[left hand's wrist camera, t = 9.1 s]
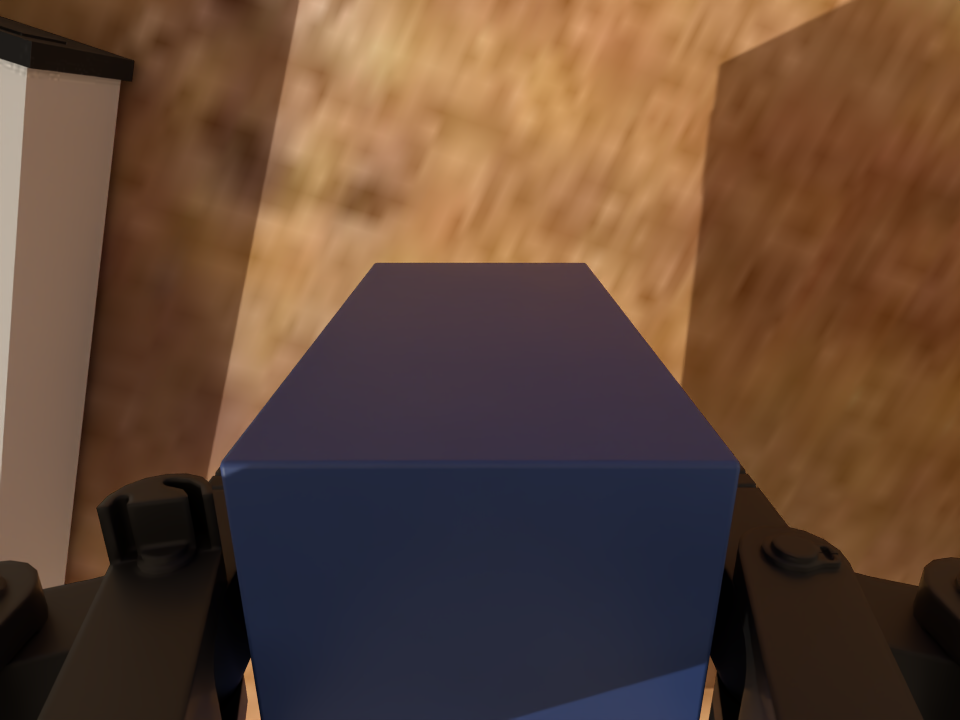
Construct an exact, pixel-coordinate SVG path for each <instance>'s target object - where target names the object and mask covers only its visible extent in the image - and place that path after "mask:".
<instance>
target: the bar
mask: <svg viewBox="0 0 960 720" xmlns="http://www.w3.org/2000/svg"><path fill="white" fill-rule="evenodd" d="M220 470H221V476H222V482H223V488H224V494H225V500H226V507H227V513H228V519H229V525H230V531H231V538H232V544H233V550H234V556H235V562H236V568H237V575H238V581H239V587H240V593H241V599H242V605H243V612H244V618H245V624H246V630H247V636H248V642H249V649H250V655H251V661H252V667H253V673H254V679H255V686H256V692H257V698H258V704H259V710H260V716H261V720H699V719H700V713H701V707H702V700H703V694H704V688H705V682H706V676H707V670H708V664H709V657H710V651H711V645H712V639H713V633H714V627H715V620H716V614H717V608H718V602H719V596H720V590H721V584H722V577H723V571H724V565H725V559H726V553H727V547H728V541H729V534H730V528H731V522H732V516H733V510H734V504H735V497H736V491H737V485H738V479H739V473H740V464H739V461H738V460H737V459H736V457H735V456H734V455H733V453H732V452H731V451H730V449H729V448H728V447H727V446H726V444H725V443H724V442H723V440H722V439H721V438H720V437H719V435H718V434H717V433H716V431H715V430H714V429H713V427H712V426H711V425H710V424H709V422H708V421H707V420H706V418H705V417H704V416H703V415H702V413H701V412H700V411H699V409H698V408H697V407H696V405H695V404H694V403H693V402H692V400H691V399H690V398H689V396H688V395H687V394H686V393H685V391H684V390H683V389H682V387H681V386H680V385H679V383H678V382H677V381H676V380H675V378H674V377H673V376H672V374H671V373H670V372H669V371H668V369H667V368H666V367H665V365H664V364H663V363H662V362H661V360H660V359H659V358H658V356H657V355H656V354H655V352H654V351H653V350H652V349H651V347H650V346H649V345H648V343H647V342H646V341H645V340H644V338H643V337H642V336H641V334H640V333H639V332H638V330H637V329H636V328H635V327H634V325H633V324H632V323H631V321H630V320H629V319H628V318H627V316H626V315H625V314H624V312H623V311H622V310H621V308H620V307H619V306H618V305H617V303H616V302H615V301H614V299H613V298H612V297H611V296H610V294H609V293H608V292H607V290H606V289H605V288H604V287H603V285H602V284H601V283H600V281H599V280H598V279H597V277H596V276H595V275H594V274H593V272H592V271H591V270H590V268H589V267H588V266H587V265H586V264H585V263H375V264H374V265H373V267H372V268H371V269H370V270H369V272H368V273H367V274H366V276H365V277H364V278H363V279H362V281H361V282H360V283H359V285H358V286H357V287H356V288H355V290H354V291H353V292H352V294H351V295H350V296H349V298H348V299H347V300H346V301H345V303H344V304H343V305H342V307H341V308H340V309H339V310H338V312H337V313H336V314H335V316H334V317H333V318H332V319H331V321H330V322H329V323H328V325H327V326H326V327H325V329H324V330H323V331H322V332H321V334H320V335H319V336H318V338H317V339H316V340H315V341H314V343H313V344H312V345H311V347H310V348H309V349H308V350H307V352H306V353H305V354H304V356H303V357H302V358H301V360H300V361H299V362H298V363H297V365H296V366H295V367H294V369H293V370H292V371H291V372H290V374H289V375H288V376H287V378H286V379H285V380H284V381H283V383H282V384H281V385H280V387H279V388H278V389H277V391H276V392H275V393H274V394H273V396H272V397H271V398H270V400H269V401H268V402H267V403H266V405H265V406H264V407H263V409H262V410H261V411H260V412H259V414H258V415H257V416H256V418H255V419H254V420H253V422H252V423H251V424H250V425H249V427H248V428H247V429H246V431H245V432H244V433H243V434H242V436H241V437H240V438H239V440H238V441H237V442H236V443H235V445H234V446H233V447H232V449H231V450H230V451H229V453H228V454H227V455H226V456H225V458H224V459H223V460H222V462H221V465H220Z"/></svg>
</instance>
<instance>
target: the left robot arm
mask: <svg viewBox="0 0 960 720" xmlns="http://www.w3.org/2000/svg"><path fill="white" fill-rule="evenodd" d="M739 464H740V463H739ZM97 512H98V516H99V520H100V524H101V529H102V533H103V537H104V541H105V545H106V549H107V553H108V557H109V561H110V566H109V568H108V570H107V572H106V574H105V576H101V577H98V578H94V579H90V580H85V581H80V582H75V583H70V584H65V585H60V586H55V587H50V588H45V589H43V588H42V585H41V581H40V578H39V575H38V571H37V570H36V569H35V568H34V567H32V566H31V565H30V564H29V563H26V562H19V561H13V560H8V561H0V720H245V719H246V711H247V702H248V699H247V692H246V686H245V680H244V672H245V670H246V667H247V665H248V663H249V660H250V658H251V655H250V649H249V642H248V636H247V630H246V624H245V618H244V612H243V605H242V599H241V593H240V587H239V581H238V575H237V568H236V562H235V556H234V550H233V544H232V538H231V531H230V525H229V519H228V513H227V507H226V500H225V494H224V488H223V482H222V476H221V470H220V467H219V469H218V470H217V471H216V473H215V476H213V477H212V478H211V479H210V481H209V482H208V481H207V480H205V479H204V478H203V477H200V476H195V475H191V474H165V475H159V476H154V477H149V478H145V479H142V480H139V481H137V482H134V483H131V484H129V485H126V486H124V487H122V488H120V489H119V490H117V491H115V492H114V493H112V494H110V495H109V496H107V497H106V498H105V499H104V500H103V501H102V503H101V504H100V505H99V506H98V507H97ZM710 656H711V658H712V661H713V663H714V665H715V667H716V670H717V674H716V680H715V686H714V691H713V697H712V703H711V709H710V715H709V720H960V558H952V557H950V558H943V559H937V560H933V561H932V562H930V563H929V564H928V565H927V566H925V567H924V570H923V573H922V577H921V580H920V583H919V586H914V585H909V584H904V583H899V582H894V581H889V580H884V579H879V578H875V577H870V576H866V575H862V574H858V573H854V571H853V569H852V567H851V565H850V563H849V562H848V560H847V559H846V558H845V557H844V555H843V554H842V553H841V551H840V550H838V549H837V548H835V547H834V546H833V545H831V544H830V543H828V542H827V541H825V540H824V539H822V538H820V537H817V536H815V535H813V534H810V533H808V532H806V531H803V530H799V529H794V528H790V527H788V525H787V524H786V523H785V521H784V520H783V519H782V517H781V516H780V515H779V514H778V512H777V511H776V510H775V508H774V507H773V506H772V504H771V503H770V502H769V501H768V499H767V498H766V497H765V495H764V494H763V493H762V492H761V490H760V489H759V488H756V484H755V482H754V481H753V480H752V479H751V477H750V476H749V475H748V474H746V473H745V469H744V468H743V467H742V466H741V464H740V473H739V479H738V485H737V491H736V497H735V504H734V510H733V516H732V522H731V528H730V534H729V541H728V547H727V553H726V559H725V565H724V571H723V577H722V584H721V590H720V596H719V602H718V608H717V614H716V620H715V627H714V633H713V639H712V645H711V651H710Z"/></svg>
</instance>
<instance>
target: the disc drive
mask: <svg viewBox="0 0 960 720" xmlns="http://www.w3.org/2000/svg"><path fill="white" fill-rule="evenodd" d="M133 68H134V60H130V59H127V58H124V57H121V56H118V55H115V54H112V53H109V52H106V51H103V50H100V49H97V48H94V47H91V46H88V45H85V44H82V43H79V42H76V41H73V40H70V39H67V38H64V37H61V36H58V35H55V34H52V33H49V32H46V31H43V30H40V29H37V28H34V27H31V26H28V25H25V24H22V23H19V22H16V21H13V20H10V19H7V18H4V17H1V16H0V561H8V560H13V561H19V562H26V563H29V564H30V565H31V566H32V567H34V568H35V569H36V570H37V571H38V575H39V578H40V581H41V585H42V588H43V589H45V588H50V587H55V586H60V585H64V582H65V573H66V564H67V555H68V546H69V537H70V529H71V520H72V511H73V502H74V493H75V484H76V475H77V466H78V457H79V448H80V440H81V431H82V422H83V413H84V404H85V395H86V386H87V377H88V368H89V359H90V350H91V342H92V333H93V324H94V315H95V306H96V297H97V288H98V279H99V270H100V261H101V253H102V244H103V235H104V226H105V217H106V208H107V199H108V190H109V181H110V172H111V163H112V155H113V146H114V137H115V128H116V119H117V110H118V101H119V92H120V83H121V80H124V81H132V76H133Z"/></svg>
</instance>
